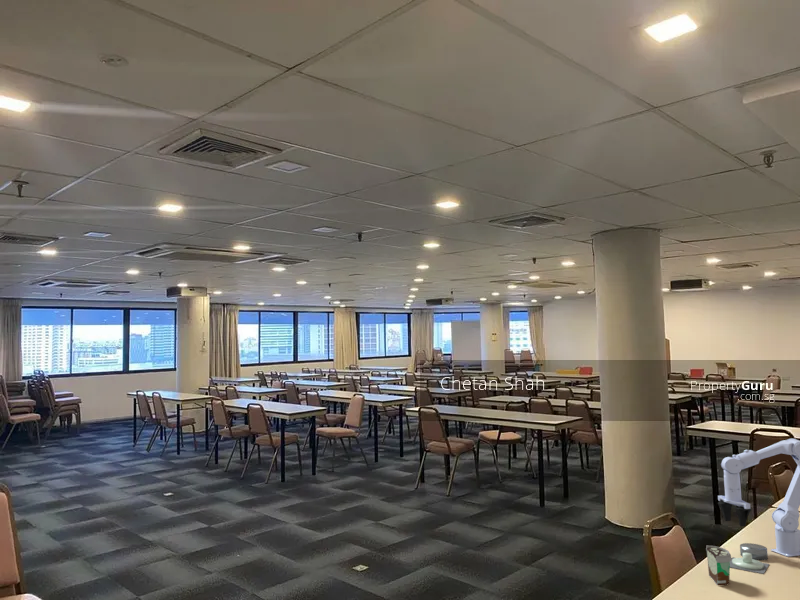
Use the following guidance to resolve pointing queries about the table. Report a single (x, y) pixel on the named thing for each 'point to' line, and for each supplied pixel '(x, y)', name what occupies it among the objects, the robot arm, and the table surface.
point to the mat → (750, 570)
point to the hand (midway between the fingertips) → (735, 523)
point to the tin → (754, 551)
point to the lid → (747, 562)
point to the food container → (718, 564)
